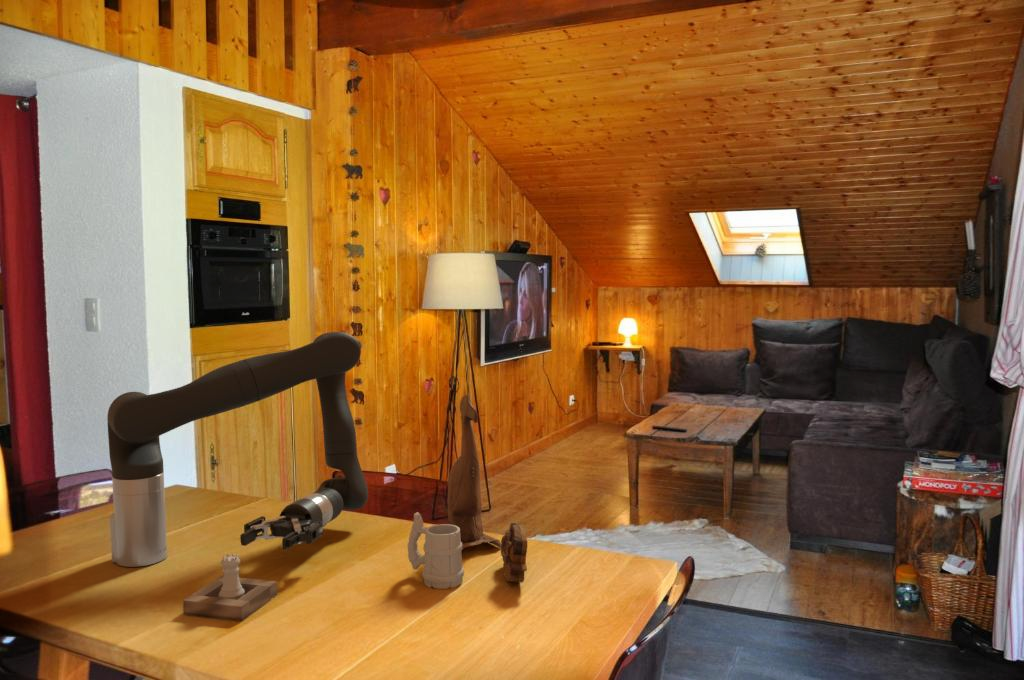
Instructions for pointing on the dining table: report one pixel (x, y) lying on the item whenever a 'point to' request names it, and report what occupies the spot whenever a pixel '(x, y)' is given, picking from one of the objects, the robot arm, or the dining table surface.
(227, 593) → the rook chess piece
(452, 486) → the bird sculpture
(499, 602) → the dining table surface
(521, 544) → the wooden carving
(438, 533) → the mug
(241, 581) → the square tray
